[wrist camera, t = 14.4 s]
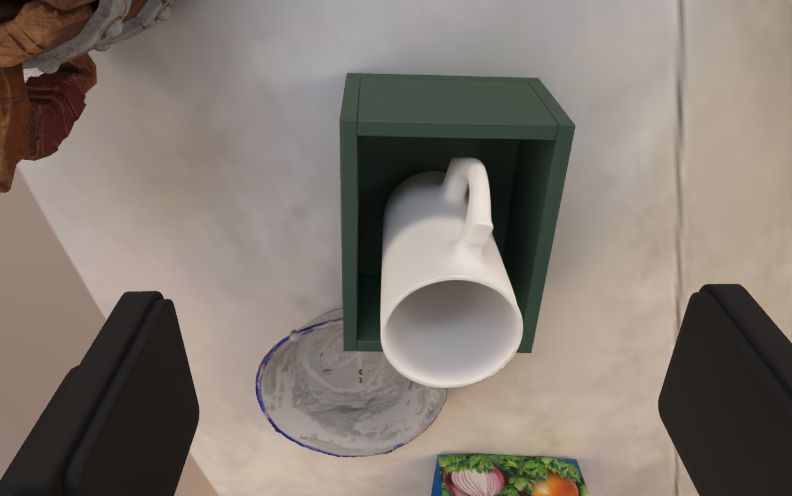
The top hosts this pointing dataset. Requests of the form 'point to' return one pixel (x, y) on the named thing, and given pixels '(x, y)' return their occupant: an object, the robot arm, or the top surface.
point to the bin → (432, 151)
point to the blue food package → (507, 476)
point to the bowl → (341, 394)
